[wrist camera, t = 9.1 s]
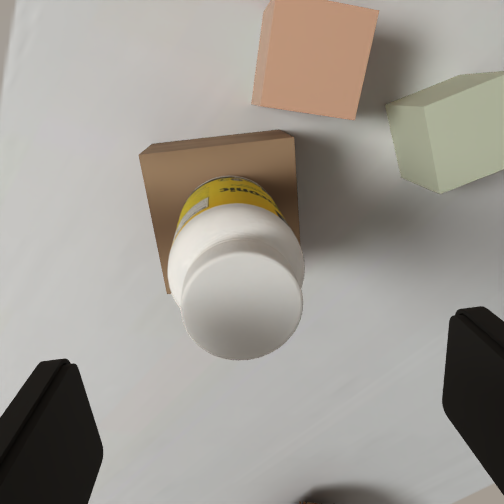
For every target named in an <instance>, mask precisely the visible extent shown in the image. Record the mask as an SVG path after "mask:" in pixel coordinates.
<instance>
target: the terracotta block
mask: <svg viewBox="0 0 504 504" xmlns="http://www.w3.org/2000/svg"><path fill="white" fill-rule="evenodd" d="M378 14H379V10H373V9H368V8H363V7H358V6H353V5H348V4H343V3H337V2H332V1H327V0H270V2H269V4H268V5H267V7H266V9H265V10H264V12H263V18H262V26H261V34H260V41H259V49H258V56H257V64H256V71H255V79H254V86H253V94H252V102H251V104H252V105H257V106H263V107H270V108H276V109H283V110H290V111H296V112H303V113H310V114H316V115H323V116H329V117H336V118H343V119H349V120H355V117H356V112H357V108H358V104H359V99H360V95H361V90H362V86H363V81H364V77H365V72H366V68H367V63H368V59H369V54H370V50H371V45H372V41H373V36H374V32H375V27H376V23H377V18H378Z"/></svg>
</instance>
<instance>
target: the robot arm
mask: <svg viewBox="0 0 504 504" xmlns="http://www.w3.org/2000/svg"><path fill="white" fill-rule="evenodd" d="M442 404H443V408H444V411H445V413H446V415H447V417H448V418H449V420H450V421H451V422H452V424H453V425H454V427H455V428H456V429H457V431H458V432H459V434H460V435H461V436H462V438H463V439H464V441H465V442H466V443H467V445H468V446H469V448H470V449H471V450H472V452H473V453H474V454H475V456H476V457H477V459H478V460H479V461H480V463H481V464H482V466H483V467H484V468H485V470H486V471H487V473H488V474H489V475H490V477H491V478H492V480H493V481H494V482H495V484H496V485H497V486H498V488H499V489H500V491H501V492H502V494H503V495H504V321H502V320H501V319H500V318H499V317H497V316H496V315H495V314H493V313H492V312H491V311H489V310H488V309H487V308H485V307H481V306H480V307H472V308H464V309H459V310H457V312H456V314H455V316H452V317H451V318H450V321H449V331H448V342H447V353H446V364H445V375H444V386H443V397H442ZM102 459H103V446H102V442H101V439H100V436H99V433H98V429H97V426H96V423H95V420H94V417H93V413H92V410H91V407H90V404H89V401H88V398H87V394H86V391H85V388H84V385H83V382H82V379H81V375H80V372H79V369H78V367H77V365H76V364H71V363H70V362H69V360H68V359H57V360H49V361H43V362H40V363H39V364H38V365H37V367H36V368H35V370H34V371H33V372H32V374H31V375H30V377H29V378H28V379H27V381H26V382H25V384H24V385H23V386H22V388H21V389H20V391H19V392H18V393H17V395H16V396H15V398H14V399H13V400H12V402H11V403H10V405H9V406H8V408H7V409H6V410H5V412H4V413H3V415H2V416H1V417H0V504H88V501H89V499H90V496H91V493H92V490H93V487H94V484H95V481H96V478H97V475H98V472H99V469H100V466H101V463H102Z"/></svg>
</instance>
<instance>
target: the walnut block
mask: <svg viewBox="0 0 504 504" xmlns="http://www.w3.org/2000/svg"><path fill="white" fill-rule="evenodd" d="M139 159H140V164H141V169H142V174H143V179H144V184H145V189H146V193H147V198H148V203H149V208H150V213H151V218H152V223H153V228H154V233H155V237H156V242H157V247H158V252H159V257H160V262H161V267H162V272H163V277H164V281H165V286H166V291H167V294H171V290H170V287H169V282H168V260H169V254H170V250H171V246H172V243H173V239H174V236H175V232H176V228H177V224H178V221H179V217H180V214H181V211H182V208H183V206H184V204H185V202H186V200H187V199H188V197H189V196H190V194H191V193H192V192H193V191H194V190H195V189H196V188H197V187H199V186H200V185H201V184H203V183H205V182H206V181H208V180H210V179H213V178H216V177H221V176H239V177H243V178H247V179H249V180H252V181H253V182H255V183H257V184H258V185H260V186H261V187H262V188H263V189H264V190H265V191H266V192H267V193H268V194H269V195H270V196H271V198H272V199H273V200H274V202H275V203H276V205H277V207H278V208H279V210H280V212H281V213H282V215H283V217H284V218H285V220H286V222H287V223H288V225H289V226H290V228H291V229H292V231H293V232H294V234H295V236H296V238H297V240H298V242H299V244H300V232H299V214H298V197H297V179H296V162H295V144H294V137H293V136H291V135H289V134H287V133H285V132H283V131H280V130H271V131H262V132H253V133H244V134H235V135H227V136H218V137H209V138H200V139H191V140H182V141H174V142H165V143H156V144H152V145H150V146H149V147H148V148H147V149H145V150H144V151H143V152H142V153H140V154H139Z"/></svg>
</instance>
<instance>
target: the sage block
mask: <svg viewBox="0 0 504 504" xmlns="http://www.w3.org/2000/svg"><path fill="white" fill-rule="evenodd" d="M385 108H386V112H387V117H388V121H389V126H390V130H391V135H392V139H393V143H394V148H395V152H396V157H397V161H398V166H399V170H400V174H401V178H403V179H406V180H408V181H410V182H413V183H415V184H417V185H420V186H422V187H424V188H427V189H429V190H432V191H434V192H436V193H439V194H442V193H444V192H447V191H449V190H452V189H454V188H457V187H460V186H462V185H465V184H467V183H470V182H472V181H475V180H478V179H480V178H483V177H485V176H488V175H490V174H493V173H496V172H498V171H501V170H503V169H504V71H499V72H487V73H476V74H465V75H458V76H456V77H453V78H451V79H448V80H446V81H443V82H441V83H438V84H436V85H433V86H431V87H428V88H426V89H423V90H421V91H418V92H416V93H413V94H411V95H408V96H406V97H403V98H401V99H398V100H396V101H393V102H391V103H389V104H386V105H385Z"/></svg>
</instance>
